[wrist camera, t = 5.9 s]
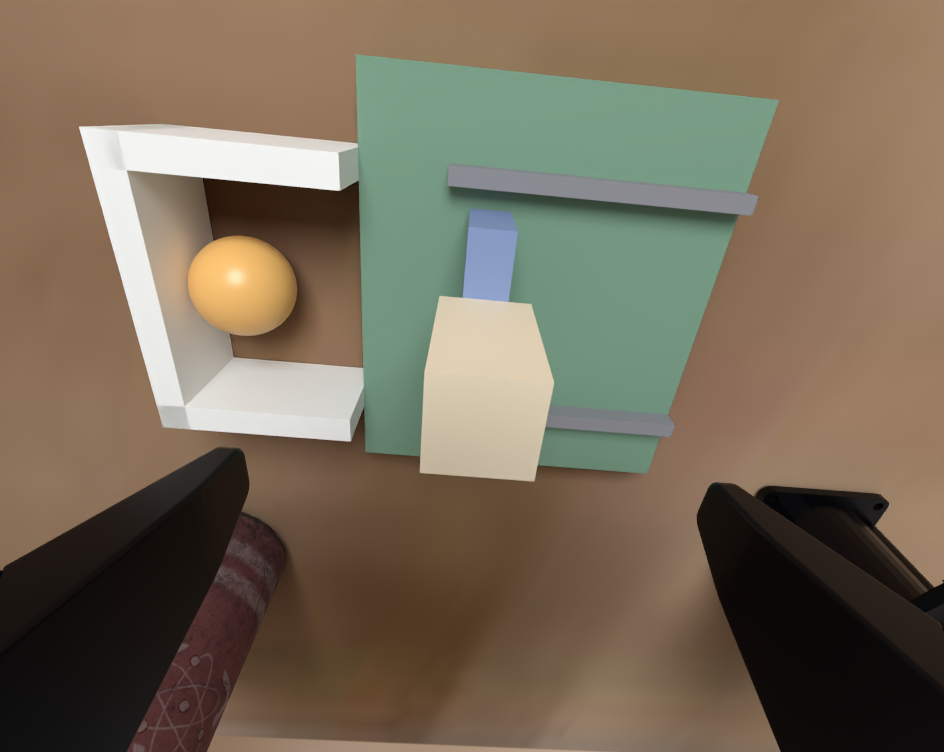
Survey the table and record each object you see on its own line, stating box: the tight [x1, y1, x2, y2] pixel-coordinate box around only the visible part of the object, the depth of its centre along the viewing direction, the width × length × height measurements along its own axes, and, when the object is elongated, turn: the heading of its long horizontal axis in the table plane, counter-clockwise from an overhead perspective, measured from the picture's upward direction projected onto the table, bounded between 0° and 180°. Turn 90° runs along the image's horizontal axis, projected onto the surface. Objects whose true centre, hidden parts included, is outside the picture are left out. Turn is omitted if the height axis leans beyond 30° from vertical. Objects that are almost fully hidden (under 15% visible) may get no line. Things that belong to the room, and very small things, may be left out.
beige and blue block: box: [420, 208, 554, 481], centre depth 14 cm, size 3×7×8 cm, turn 175°
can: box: [127, 512, 285, 752], centre depth 20 cm, size 6×6×14 cm
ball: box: [188, 236, 297, 336], centre depth 17 cm, size 4×4×4 cm
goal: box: [79, 124, 364, 442], centre depth 17 cm, size 7×10×4 cm
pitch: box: [356, 54, 779, 474], centre depth 18 cm, size 13×15×2 cm
